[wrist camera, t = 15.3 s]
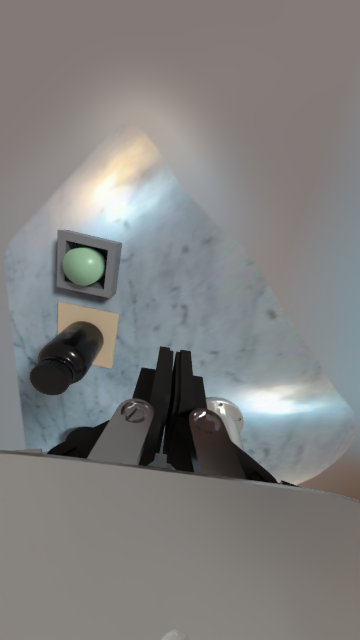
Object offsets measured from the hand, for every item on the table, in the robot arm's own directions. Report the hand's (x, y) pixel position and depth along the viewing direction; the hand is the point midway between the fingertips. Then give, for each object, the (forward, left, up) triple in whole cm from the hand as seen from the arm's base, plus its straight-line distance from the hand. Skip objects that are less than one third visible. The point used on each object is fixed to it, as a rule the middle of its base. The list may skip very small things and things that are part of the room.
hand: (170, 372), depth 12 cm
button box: (0, +13, -25) cm, 28 cm away
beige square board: (-13, +13, -25) cm, 31 cm away
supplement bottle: (-13, +13, -25) cm, 31 cm away
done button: (0, +13, -24) cm, 27 cm away
